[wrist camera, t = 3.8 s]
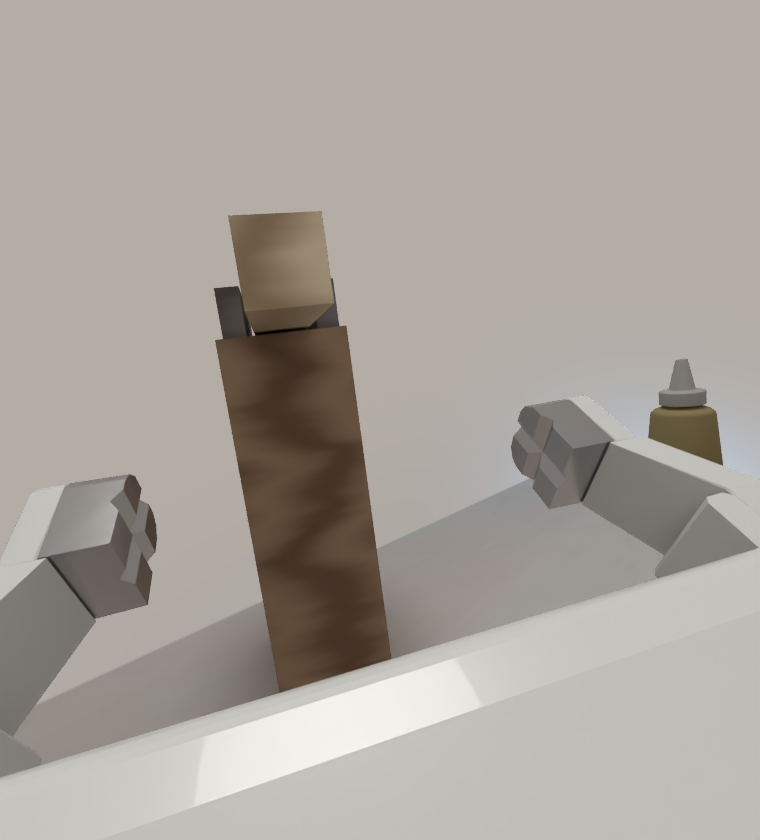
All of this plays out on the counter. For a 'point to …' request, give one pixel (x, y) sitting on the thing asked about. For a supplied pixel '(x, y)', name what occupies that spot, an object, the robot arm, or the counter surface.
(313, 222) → the beech bar
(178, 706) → the counter surface
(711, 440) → the squeeze bottle
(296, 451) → the tall stand
